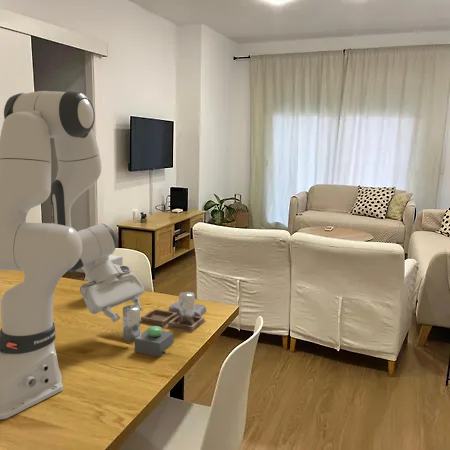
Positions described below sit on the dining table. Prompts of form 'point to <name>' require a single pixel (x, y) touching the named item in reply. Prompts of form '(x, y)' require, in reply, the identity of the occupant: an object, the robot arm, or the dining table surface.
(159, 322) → the brown wooden tray
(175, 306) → the stone block
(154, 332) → the button
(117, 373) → the dining table surface
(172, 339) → the console
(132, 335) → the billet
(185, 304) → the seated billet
